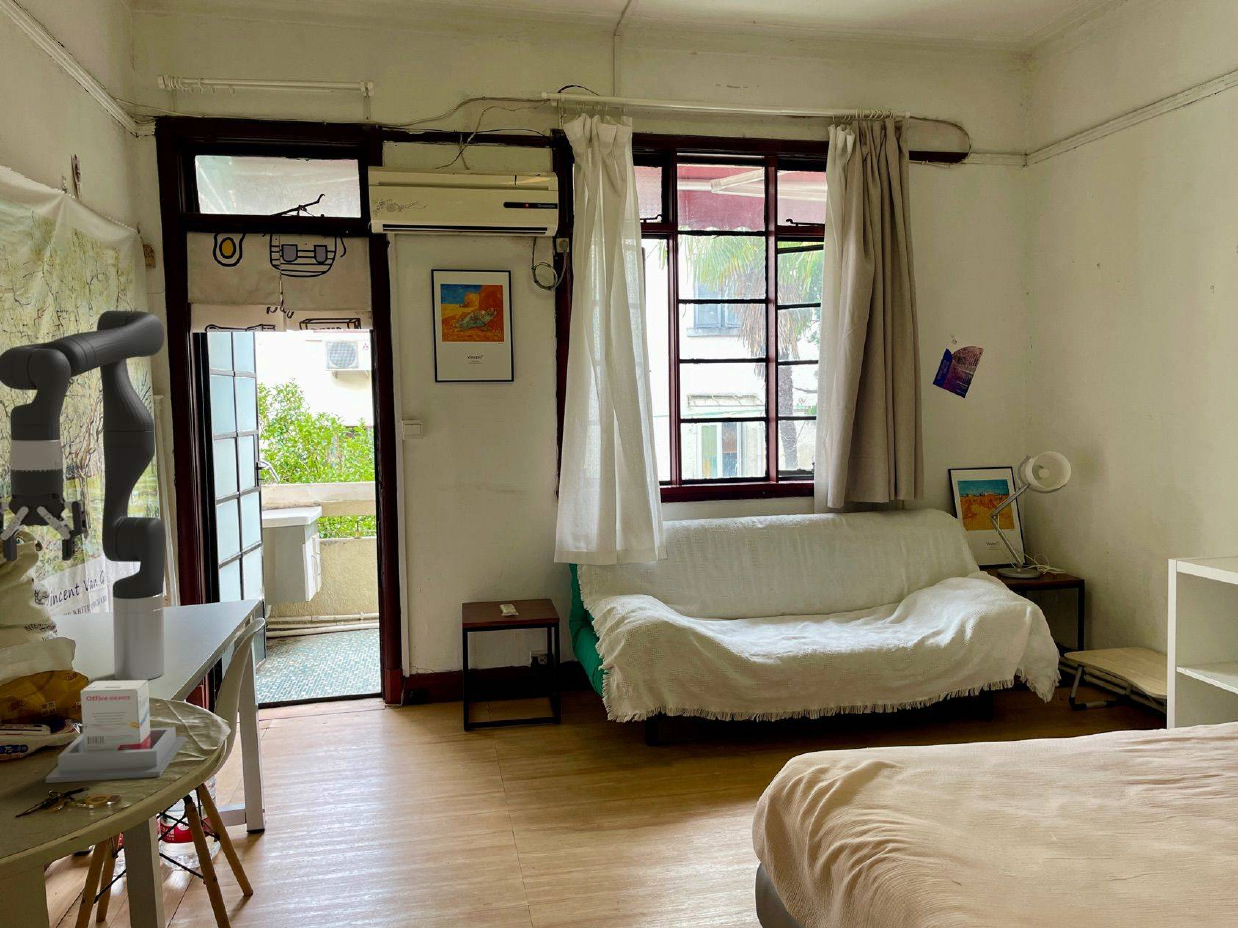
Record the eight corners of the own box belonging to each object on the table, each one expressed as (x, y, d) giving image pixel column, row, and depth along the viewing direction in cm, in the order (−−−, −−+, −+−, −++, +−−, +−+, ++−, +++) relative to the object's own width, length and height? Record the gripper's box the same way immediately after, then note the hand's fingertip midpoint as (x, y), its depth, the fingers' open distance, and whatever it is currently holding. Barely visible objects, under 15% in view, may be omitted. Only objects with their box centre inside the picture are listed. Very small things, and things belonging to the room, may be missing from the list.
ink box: (152, 748, 145) (151, 678, 144) (140, 761, 140) (138, 688, 139) (95, 750, 144) (94, 679, 143) (81, 762, 139) (79, 689, 138)
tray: (82, 746, 147) (82, 727, 147) (185, 741, 150) (185, 722, 150) (45, 782, 133) (45, 761, 133) (159, 776, 136) (159, 755, 136)
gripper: (91, 464, 154) (93, 556, 156) (0, 464, 152) (3, 557, 153) (73, 468, 147) (76, 564, 148) (-22, 468, 144) (-19, 565, 145)
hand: (39, 560), depth 151 cm, fingers open, 8 cm apart
